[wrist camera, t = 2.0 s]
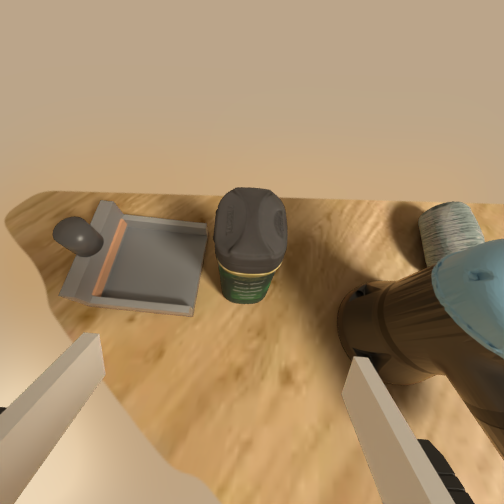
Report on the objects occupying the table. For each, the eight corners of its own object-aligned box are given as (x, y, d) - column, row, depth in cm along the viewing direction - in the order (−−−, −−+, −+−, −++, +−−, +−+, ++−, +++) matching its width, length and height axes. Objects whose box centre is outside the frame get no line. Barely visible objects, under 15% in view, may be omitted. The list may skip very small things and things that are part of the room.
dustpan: (208, 233, 43) (200, 195, 33) (192, 317, 36) (176, 302, 26) (115, 223, 42) (78, 181, 32) (83, 305, 36) (24, 286, 26)
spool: (408, 200, 45) (476, 184, 36) (434, 218, 49) (501, 208, 40) (398, 268, 42) (468, 270, 33) (426, 282, 46) (496, 286, 37)
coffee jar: (268, 305, 38) (295, 265, 21) (219, 304, 37) (206, 261, 21) (267, 251, 42) (289, 180, 25) (223, 250, 41) (215, 176, 25)
